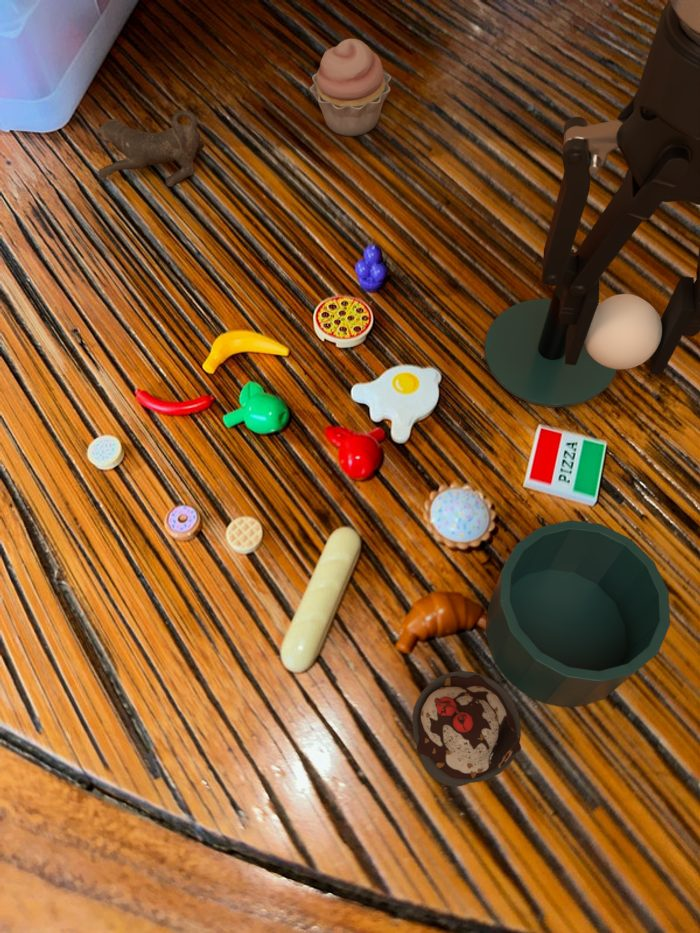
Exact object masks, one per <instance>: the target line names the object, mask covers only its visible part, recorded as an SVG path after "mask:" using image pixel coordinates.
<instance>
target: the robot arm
mask: <svg viewBox="0 0 700 933" xmlns="http://www.w3.org/2000/svg"><path fill="white" fill-rule="evenodd" d="M562 140H563V141H562V165H563V175H562V179H561V181H560V182H561V183H560V186H559V189H558V194H557V198H556V201H555V204H554V205H555V206H554V209H553V213H552V216H551V221H550V225H549V228H548V231H547V235H546V240H545V243H544V246H543V254H542V268H541V269H542V271H541V282H542V283H543V284H544V285H545V286H548V287H555V286H556V285H558V284H561V285H563V286H564V290H563V294H562V297H561V300H560V314H559V319H560V322H561V324H569V326H568V329H567V332H566V348H565V364H568V365H576V364H577V361H578V358H579V356H580V353H581V350H582V347H583V344H584V342H585V339H586V336H587V333H588V331H589V328H590V325H591V322H592V320H593V317H594V314H595V311H596V308H597V306H598V304H600V282H601V281H600V279H601V277H602V276H603V275H604V273H605V272H606V271H607V270H608V268H609V266H610V265H611V264H612V263H613V261H614V260H615V258H616V257H617V256H618V254H619V253H620V252H621V251H622V249H623V248H624V247H625V245H626V244H627V243H628V241H629V240H630V238H631V237H632V236H633V235H634V233H635V232H636V230H637V229H638V228H639V226H640V225H641V224H642V222H643V221H648V220H650V219H651V217H652V216H653V215H654V214H655V212H656V210H657V209H658V208H659V207H660V205H661V204H662V203H674V202H682V201H684V202H687V203H691V204H694V205H698V206H700V0H668V2H666V3H665V5H664V7H663V9H662V11H661V14H660V17H659V20H658V24H657V27H656V30H655V32H654V36H653V39H652V43H651V45H650V49H649V52H648V55H647V59H646V62H645V65H644V68H643V71H642V75H641V77H640V80H639V83H638V87H637V90H636V92H635V94H634V96H633V97H632V99H631V100H630V101H629V102H628V103H627V104H626V105H625V106H624V107H623V108H622V109H621V111H620V112H619V114H618V115H617V119H614V120H609V121H605V122H599V123H595V124H591V125H590V124H589V123H588V121H587V120H586V119H585V118H584V117H582V116H572V117H571V118H569V119H568V120H566V122H565V123H564V126H563V139H562ZM617 149H618V150H619V151H620V153H621V155H622V157H623V159H624V161H625V163H626V165H627V167H628V168H627V170H626V172H625V175H624V178H623V181H622V183H621V185H620V186H619V188H618V190H617V191H616V192H615V193H614V195H613V196H612V197H611V200H610V201H609V202H608V204H607V205H606V207H605V208H604V210H603V211H602V213H601V214H600V216H599V217H598V218H597V220H596V221H595V223H594V225H593V226H592V228H591V229H590V230H589V232H588V233H587V235H586V237H585V238H584V240H582V242H581V244H580V245H579V247H578V248H577V250H576V251H575V249H574V248H573V246H574V242H575V239H576V236H577V233H578V230H579V227H580V223H581V220H582V218H583V213H584V210H585V208H586V204H587V201H588V198H589V194H590V189H591V175H594V176H595V175H597V174H599V172H600V170H601V168H603V167H604V165H605V164H606V162H607V157H608V156H609V154H610V153H611V152H613V151H615V150H617ZM695 273H696V274H695V276H696V279H695V277H693V276H686V275H685V276H683V275H681V276H680V277H679V279H678V282H677V283H676V286H675V288H674V289H673V292H672V294H671V296H670V299H669V301H668V303H667V305H666V306H665V309H664V311H663V312H662V315H661V317H660V319H661V324H662V337H661V341H660V344H659V345H658V347H657V349H656V351H655V352H654V353H653V355H652V356H651V357H650V358H649V374H652V375H663V373H664V372H665V370H666V368H667V366H668V364H669V362H670V360H671V358H672V357H673V355H674V353H675V351H676V349H677V346H678V345H679V343H680V341H681V340H682V337H693V338H694V337H695V336H696V335H698V334H699V333H700V245H699V246H698V255H697V264H696V272H695Z"/></svg>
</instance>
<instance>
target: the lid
mask: <svg viewBox="0 0 700 933" xmlns="http://www.w3.org/2000/svg"><path fill="white" fill-rule="evenodd" d="M563 290H564V286H563V285H561V284H558V285H556V286H554V289H553V293H552V296H551V298H536V299H534V298H533V299H528V300H525V301H521V302H518V303H516V304H514V305H512V306H510V307H508V308H506V309H505V310H504V311H502V312H501V313H500V314H498V315H497V316H496V318H495V319H494V320H493V321H492V323H490V326H489V328H488V330H487V333H486V335H485V338H484V340H485V341H484V346H483V347H484V349H483V350H484V359H485V362H486V365H487V368H488V370H489V372H490V373H491V375H492V376H493V378H494V380H496V382H497V383H498V384H499V385H500V386H501V387H502V388H503V389H504V390H506V391H507V392H509V394H512V395H513V396H514V397H516V398H518V399H520V400H522V401H524V402H526V403H530V404H532V405H533V404H534V405H536V406H541V407H547V408H568V407H573V406H578V405H583V404H585V403H587V402H590V401H592V400H593V399H595V398H597V397H598V396H600V395H601V394H602V393H604V392H605V391H606V390H607V388H609V386H610V385H611V383H612V382H613V381H614V379H615V376H616V375H617V372H618V369H613V368H609V367H606V366H604V365H601V364H600V363H598V362H597V361H596V360H594V359H593V358H592V357H591V355H590V354H589V353H588V351H587V350H586V348H585V346H584V344H583V347H582V350H581V353H580V356H579V358H578V361H577V364H576V365H568V364H565V348H566V332H567V329H568V326H569V324H561V322H560V319H559V314H560V300H561V297H562V294H563Z"/></svg>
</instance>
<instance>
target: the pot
mask: <svg viewBox="0 0 700 933" xmlns="http://www.w3.org/2000/svg"><path fill="white" fill-rule="evenodd" d="M669 593H670V592H669V589H668V588H667V586H666V583H665V581H664V579H663V576H662V575H661V573H660V571H659V568H658V567H657V565H656V563H655V561H654V560H653V559H652V558H651V556H649V555H648V554H647V553H646V552H645V551H644V550H643V549H642V548H641V547H640V546H639V545H638V544H637V543H636V542H635V541H634V540H633V539H632V538H630V537H628V536H626V535H625V534H622V533H620V532H618V531H616V530H614V529H612V528H610V527H608V526H605V525H604V524H601V523H595V522H589V521H587V522H586V521H580V520H571V519H569V520H564V521H560V522H556V523H552V524H548V525H544V526H540V527H538V528H536V529H535V530H533V531H532V532H531V533H530V534H528V535H527V536H525V537H524V538H523V539H522V540H520V541H519V542H517V543H516V544H515V545H514V547H513V548H512V550H511V552H510V554H509V555H508V558H507V560H506V562H505V564H504V565H503V567H502V569H501V571H500V575H499V576H498V580H497V581H496V585H495V587H494V590H493V592H492V595H491V598H490V601H489V602H488V605H487V614H486V620H485V634H486V635H485V636H486V642H487V646H488V649H489V652H490V654H491V656H492V659H493V661H494V663H495V664H496V667H497V668H498V669H499V671H500V672H501V673H502V675H503V676H504V677H505V679H506V680H507V681H508V682H509V683H510V684H511V685H512V686H514V688H516V689H517V690H518V691H519V692H521V693H522V694H524V695H526V696H527V697H529V698H531V699H533V700H535V701H537V702H540V703H543V704H545V705H546V704H547V705H550V706H555V707H563V708H576V707H583V706H587V705H591V704H593V703H597V702H600V701H602V700H605V699H606V698H607V697H608V696H610V695H611V694H612V693H613V692H614V691H615V690H616V689H617V688H619V687H620V686H621V685H622V684H624V683H625V682H626V681H627V680H629V679H630V678H631V677H632V676H633V675H634V674H635V673H637V672H638V671H639V670H640V669H641V668H642V667H643V666H645V665H646V664H647V663H649V662H650V661H651V660H652V659H653V658H654V657H655V656H657V655H658V654H659V652H660V650H661V647H662V645H663V643H664V640H665V638H666V635H667V633H668V631H669V628H670V626H671V615H670V613H671V612H670V594H669Z"/></svg>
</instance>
